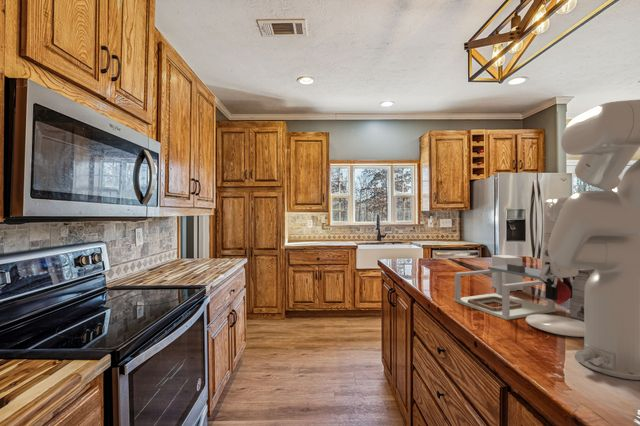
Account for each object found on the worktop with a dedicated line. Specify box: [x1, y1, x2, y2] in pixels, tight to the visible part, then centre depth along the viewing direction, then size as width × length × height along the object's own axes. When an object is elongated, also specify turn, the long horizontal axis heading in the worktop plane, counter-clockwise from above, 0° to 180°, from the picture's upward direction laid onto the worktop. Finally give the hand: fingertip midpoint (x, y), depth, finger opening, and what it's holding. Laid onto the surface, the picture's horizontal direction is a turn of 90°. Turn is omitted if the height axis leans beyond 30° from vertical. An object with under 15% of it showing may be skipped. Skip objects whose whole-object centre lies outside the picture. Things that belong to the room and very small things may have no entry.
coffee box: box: [569, 269, 595, 321], centre depth 103 cm, size 9×6×16 cm
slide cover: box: [487, 264, 553, 280], centre depth 120 cm, size 13×22×4 cm, turn 20°
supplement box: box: [491, 254, 524, 292], centre depth 142 cm, size 9×9×15 cm
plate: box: [525, 313, 584, 338], centre depth 95 cm, size 17×17×1 cm
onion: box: [553, 278, 571, 305], centre depth 95 cm, size 6×6×8 cm
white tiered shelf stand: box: [453, 269, 557, 321], centre depth 116 cm, size 24×23×11 cm
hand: (558, 297), depth 95 cm, fingers closed on onion, 5 cm apart
